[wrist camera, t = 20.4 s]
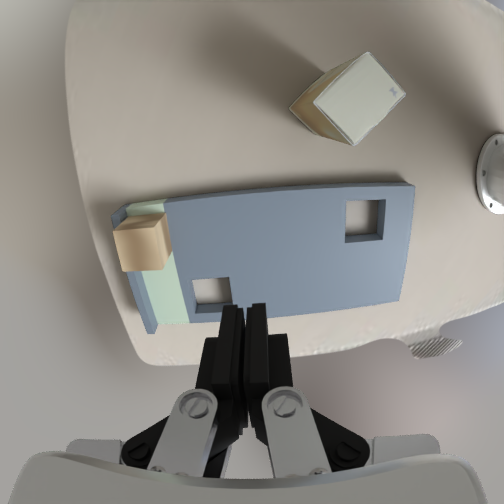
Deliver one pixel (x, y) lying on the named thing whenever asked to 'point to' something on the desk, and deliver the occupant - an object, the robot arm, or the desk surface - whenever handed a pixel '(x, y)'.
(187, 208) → the board
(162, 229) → the block
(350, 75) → the skincare box
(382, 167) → the desk surface
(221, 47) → the desk surface
